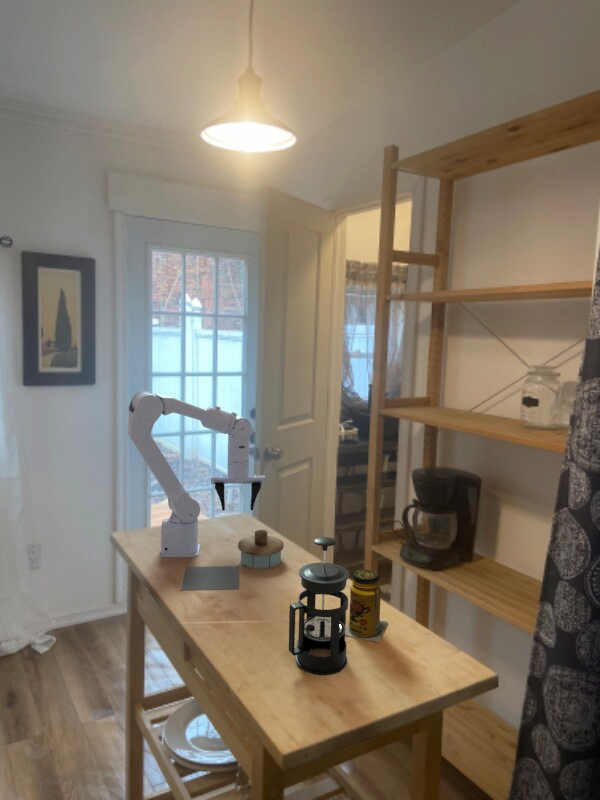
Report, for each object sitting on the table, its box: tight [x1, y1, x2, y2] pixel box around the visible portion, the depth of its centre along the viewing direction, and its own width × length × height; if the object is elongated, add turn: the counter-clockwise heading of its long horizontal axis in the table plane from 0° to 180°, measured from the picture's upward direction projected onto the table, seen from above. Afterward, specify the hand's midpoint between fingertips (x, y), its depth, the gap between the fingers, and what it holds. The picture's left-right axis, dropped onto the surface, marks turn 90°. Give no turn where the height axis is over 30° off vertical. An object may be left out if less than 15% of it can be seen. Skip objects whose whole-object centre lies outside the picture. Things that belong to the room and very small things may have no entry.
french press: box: [288, 536, 350, 676], centre depth 107 cm, size 12×9×23 cm
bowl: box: [240, 550, 282, 569], centre depth 153 cm, size 10×10×4 cm
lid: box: [237, 529, 285, 555], centre depth 152 cm, size 12×12×4 cm
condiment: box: [345, 569, 389, 643], centre depth 120 cm, size 7×8×12 cm
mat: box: [180, 565, 240, 592], centre depth 142 cm, size 13×13×1 cm
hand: (237, 509), depth 163 cm, fingers open, 7 cm apart
